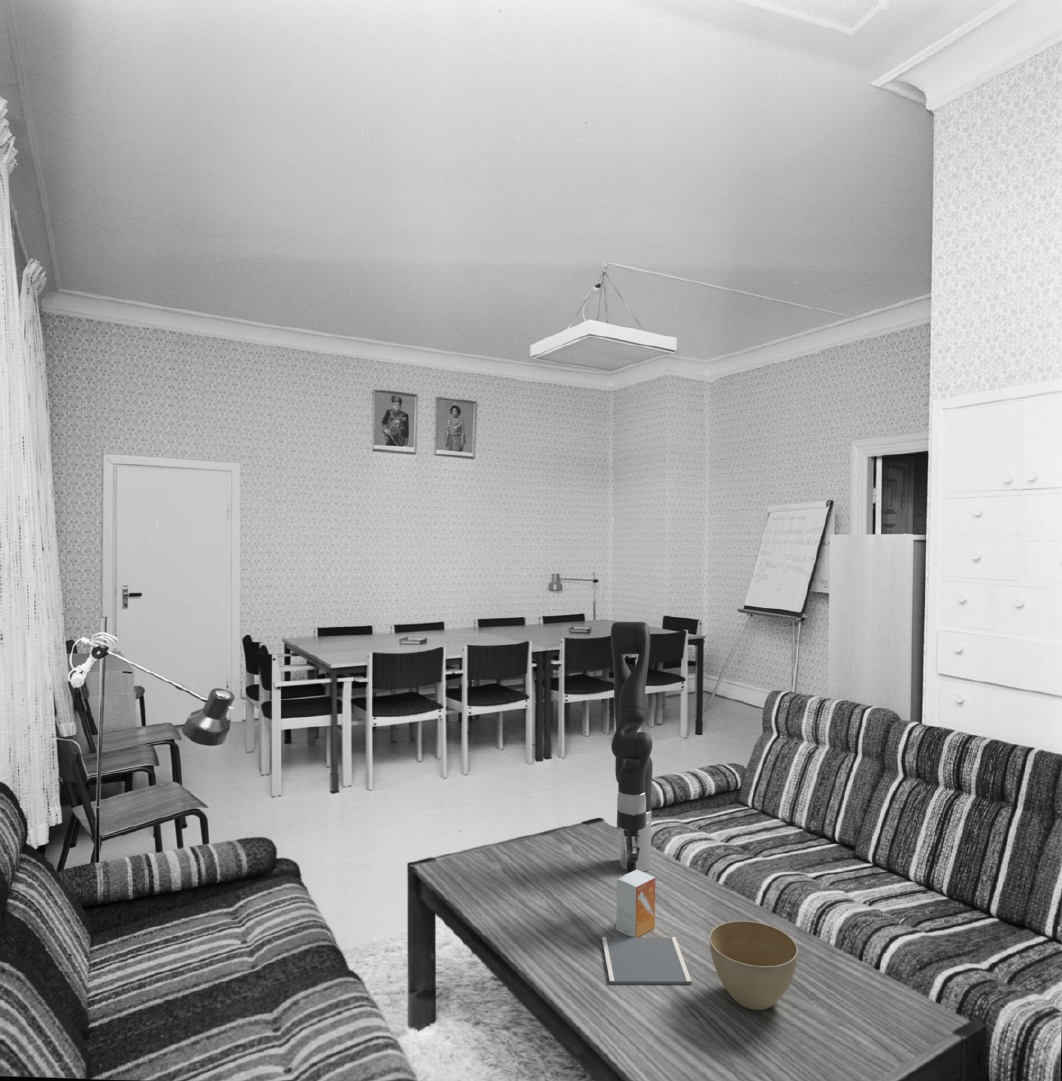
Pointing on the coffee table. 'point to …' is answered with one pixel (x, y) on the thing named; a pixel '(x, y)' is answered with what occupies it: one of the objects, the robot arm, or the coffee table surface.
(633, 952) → the mat
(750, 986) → the beige round bowl
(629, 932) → the small box
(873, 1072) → the coffee table surface
